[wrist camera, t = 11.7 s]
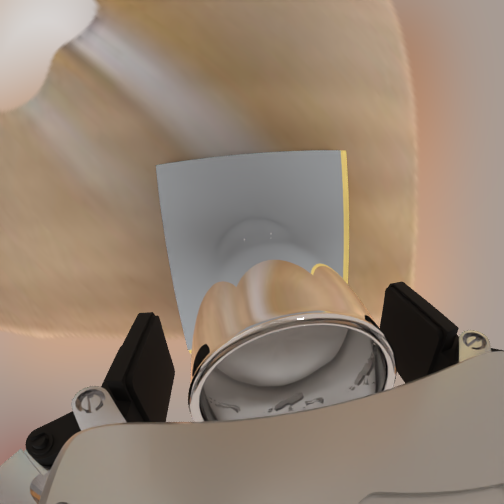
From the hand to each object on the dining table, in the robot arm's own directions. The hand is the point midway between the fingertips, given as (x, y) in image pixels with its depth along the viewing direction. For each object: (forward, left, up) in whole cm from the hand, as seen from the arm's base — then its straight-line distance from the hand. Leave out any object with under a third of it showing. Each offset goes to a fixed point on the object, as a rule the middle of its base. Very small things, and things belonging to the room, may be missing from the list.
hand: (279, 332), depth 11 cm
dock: (+1, 0, -14) cm, 14 cm away
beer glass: (0, 0, -12) cm, 12 cm away
